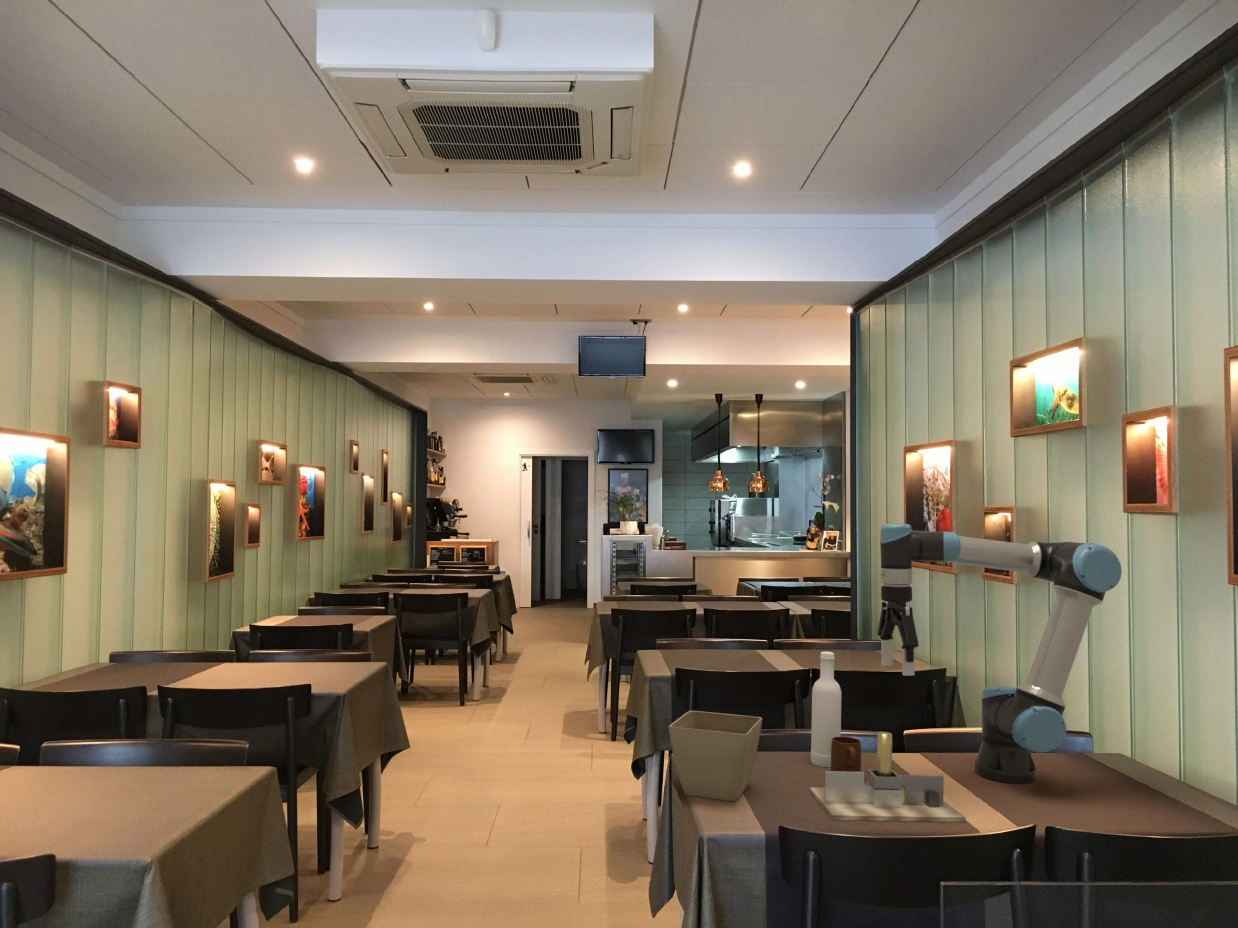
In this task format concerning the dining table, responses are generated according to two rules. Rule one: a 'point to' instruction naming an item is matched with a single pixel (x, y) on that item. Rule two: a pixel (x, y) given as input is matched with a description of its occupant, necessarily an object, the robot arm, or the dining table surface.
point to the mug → (846, 754)
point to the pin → (884, 755)
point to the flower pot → (714, 753)
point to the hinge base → (864, 791)
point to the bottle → (825, 712)
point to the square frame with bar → (909, 785)
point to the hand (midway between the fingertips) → (897, 670)
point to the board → (888, 811)
